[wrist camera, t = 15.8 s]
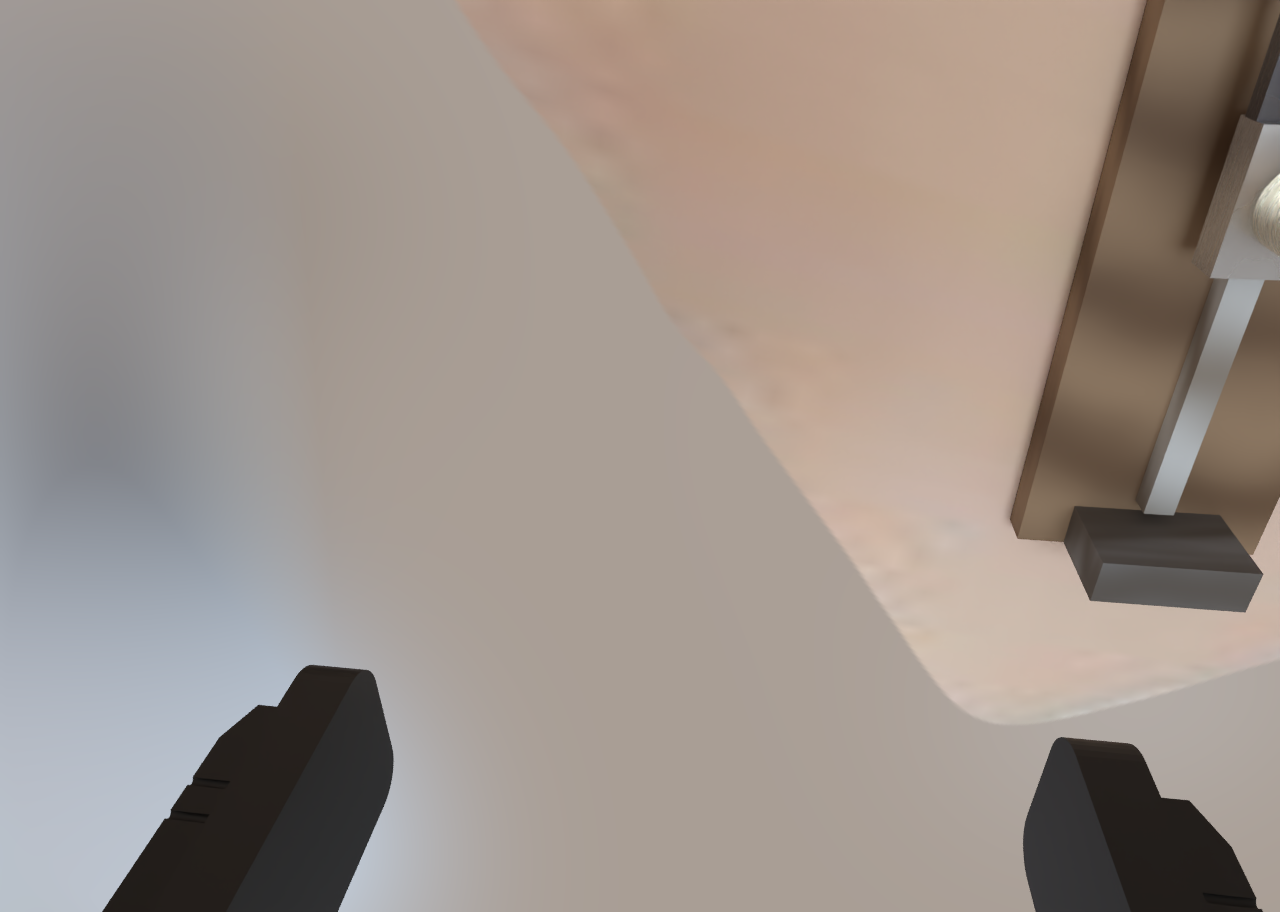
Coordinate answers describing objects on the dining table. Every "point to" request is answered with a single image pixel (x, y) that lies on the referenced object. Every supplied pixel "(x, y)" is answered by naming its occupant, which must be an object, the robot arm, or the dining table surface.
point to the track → (1164, 342)
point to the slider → (1248, 189)
